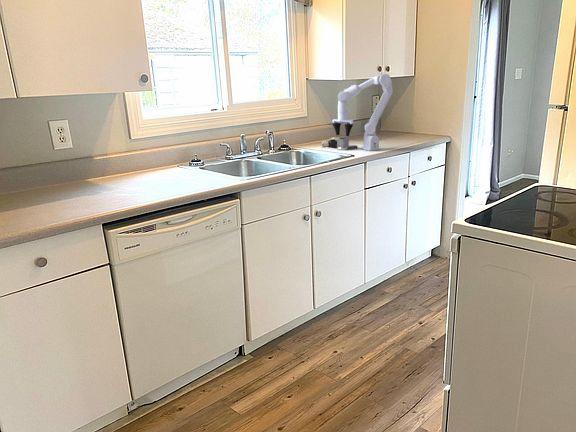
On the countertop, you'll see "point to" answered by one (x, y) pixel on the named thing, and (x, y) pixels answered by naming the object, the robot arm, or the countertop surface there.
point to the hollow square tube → (343, 142)
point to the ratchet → (348, 147)
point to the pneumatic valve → (330, 142)
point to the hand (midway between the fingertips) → (342, 135)
